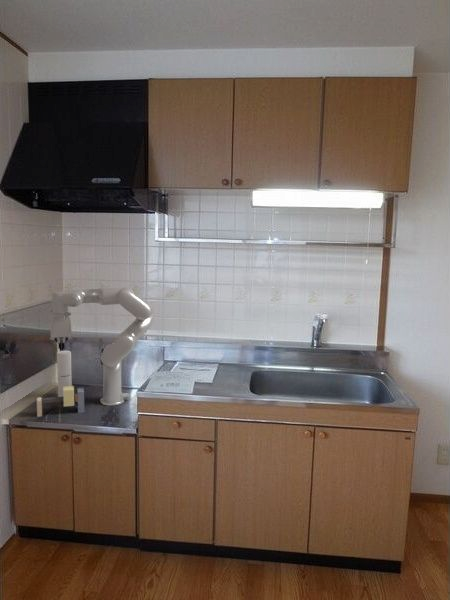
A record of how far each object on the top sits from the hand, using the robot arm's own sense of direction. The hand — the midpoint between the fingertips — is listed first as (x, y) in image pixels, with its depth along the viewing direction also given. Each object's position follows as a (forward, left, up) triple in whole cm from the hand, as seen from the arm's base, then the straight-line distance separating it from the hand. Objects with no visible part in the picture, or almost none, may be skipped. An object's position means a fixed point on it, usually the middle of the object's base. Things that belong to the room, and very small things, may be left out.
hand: (61, 349), depth 233 cm
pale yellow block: (-3, +13, -25) cm, 28 cm away
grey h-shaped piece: (+1, +13, -29) cm, 32 cm away
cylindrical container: (-1, -9, -29) cm, 30 cm away
